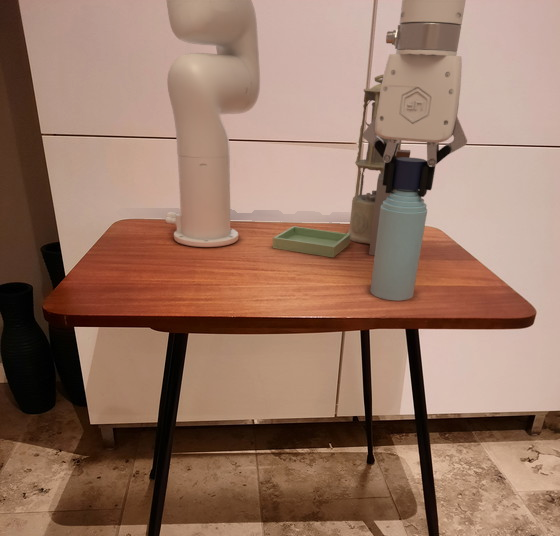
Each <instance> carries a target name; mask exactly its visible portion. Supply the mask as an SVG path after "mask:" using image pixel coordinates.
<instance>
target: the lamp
mask: <svg viewBox="0 0 560 536" xmlns="http://www.w3.org/2000/svg"><path fill="white" fill-rule="evenodd" d="M383 76H384V73H383V74H379V75H377V76H375V77H374V78H373V79H374V82H375V83H377V84H376V85H374V86H372V87H370V88H363V92H364V96H363V112H362V120H361V125H360V129H359V138H358V146H357V148H358V151H357V156H356V160H355V162H354V163H355V165H356V166H357V169H358V171H357V178H356V185H355V194H354V196H353V197H352V200H351V210H350V219H349V227H348V230H347V232H346V234H351V236H350V241H351V242H355V243H359V244H367V245H370V241H371V233H372V224H373V215H374V207H375V198H376V190H371V192H366V193H365V194H363V189H364V179H365V174H364V173H365V171H366V170H369V171H375V172H376V171H377V172H378V171H379V173H380V174H384V168H383V165H384V161H383V158H382V157H381V155H380V154H379V153H378V151H377V150H376V149H375V147H374V146H373V145H371V144H370V143H369V142H368V141H367V151H366V157H365V159H361V152H362V145H363V138H364V137H363V133H364V128H365V125H366V126H367V127H368V126H369V125H370V123H368V122H367V121H366V120H365V118H366V111H367V107H368V105H369V104H370V102H372V103H371V106H372V108H371V119H370V122H372V121H373V119H374V118H375V117H376V115H377V109H378V103H379V97H380V91H381V86H382V81H383ZM380 138H381V137H380ZM381 139H382V140H384V141H385V142H386V144H387V142H388V139H384V138H381ZM401 147H402V140H400V143H399V146H398V150H402V149H401ZM361 169H362V172H361Z"/></svg>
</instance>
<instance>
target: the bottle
mask: <svg viewBox="0 0 560 536" xmlns="http://www.w3.org/2000/svg"><path fill="white" fill-rule="evenodd" d="M427 207H428V206H427V203H425V199H424V198H423V197H420V196H419V190H403V189H397V188H394V192H391V193H390V196H387V198H386V200H384V201H383V205H381V209H380V217H379V225H378V233H377V241H376V249H375V255H374V259H373V265H372V266H373V267H372V272H371V273H372V274H371V282H370V290H369V291H370V293H371V295H372V296H374V297H376V298H378V299H381V300H385V301H397V302H401V301H402V302H403V301H408V300H410V299H412V298H413V297H414V294H415V287H416V282H417V281H416V280H417V276H418V270H419V269H418V268H419V263H420V258H421V251H422V244H423V240H424V233H425V228H426V221H427V214H428V208H427Z"/></svg>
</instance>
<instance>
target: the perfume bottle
mask: <svg viewBox="0 0 560 536" xmlns="http://www.w3.org/2000/svg"><path fill="white" fill-rule="evenodd" d="M396 157H397V158H400V157H410V158H411V150H410V149H400V150H397V153H396ZM383 168H385V162H384V165H383ZM378 173H379V174H378V177H377V183H376V190H375V191H376V198H375V207H374V215H373V224H372V233H371V241H370V244H369V251H368V255H369V256H375V249H376V241H377V233H378V225H379V217H380V209H381V205H383V201H384V200H386V198H387V196H390V193H386V186H383V176H384V174H380V172H378ZM392 192H394V190H393V191H392Z"/></svg>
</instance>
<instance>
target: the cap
mask: <svg viewBox="0 0 560 536" xmlns="http://www.w3.org/2000/svg"><path fill="white" fill-rule="evenodd" d="M426 161H427V159H425V158H419V157H411V156H410V157H400V158H396V162H395V170H394V178H393V185H392V187H394V188H397V189H403V190H419V188H420V181H421V175H422V169H423V167H424V166H425V163H426Z"/></svg>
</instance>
